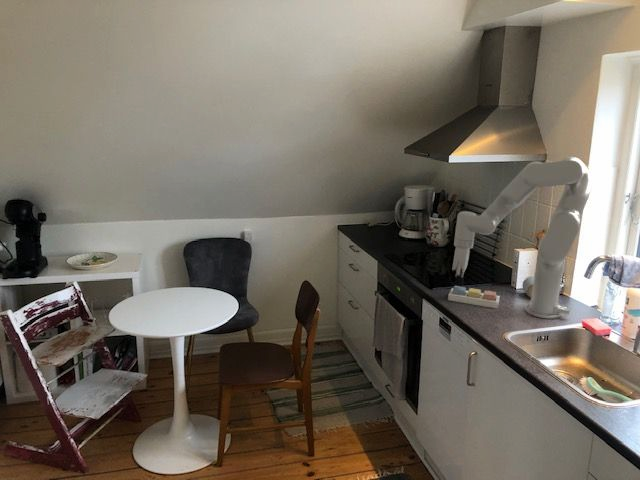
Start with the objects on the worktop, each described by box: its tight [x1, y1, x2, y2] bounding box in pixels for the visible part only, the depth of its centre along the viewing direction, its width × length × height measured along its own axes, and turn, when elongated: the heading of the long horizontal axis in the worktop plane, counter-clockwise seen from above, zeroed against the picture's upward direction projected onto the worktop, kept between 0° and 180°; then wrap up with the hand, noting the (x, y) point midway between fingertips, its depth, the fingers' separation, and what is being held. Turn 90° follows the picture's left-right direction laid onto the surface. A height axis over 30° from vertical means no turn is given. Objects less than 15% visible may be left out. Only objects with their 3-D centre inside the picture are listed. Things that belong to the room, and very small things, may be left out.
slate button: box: [452, 285, 467, 296], centre depth 209 cm, size 4×4×3 cm
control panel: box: [447, 287, 501, 309], centre depth 207 cm, size 19×8×2 cm, turn 67°
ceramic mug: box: [522, 276, 534, 299], centre depth 213 cm, size 11×8×8 cm
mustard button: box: [467, 287, 482, 298], centre depth 206 cm, size 4×4×3 cm
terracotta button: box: [483, 290, 497, 301], centre depth 204 cm, size 4×4×3 cm
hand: (458, 285), depth 208 cm, fingers closed
